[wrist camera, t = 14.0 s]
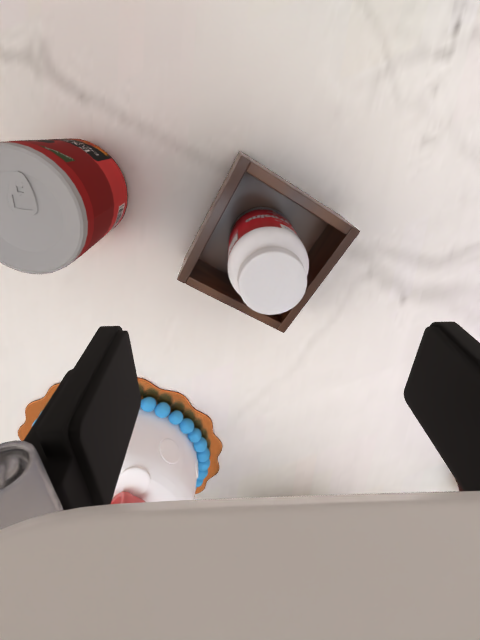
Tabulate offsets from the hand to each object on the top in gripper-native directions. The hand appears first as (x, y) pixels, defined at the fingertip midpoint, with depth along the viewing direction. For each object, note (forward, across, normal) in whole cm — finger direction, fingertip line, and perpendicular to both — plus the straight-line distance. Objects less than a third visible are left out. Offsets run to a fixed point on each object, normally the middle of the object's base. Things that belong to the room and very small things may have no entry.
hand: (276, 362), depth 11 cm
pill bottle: (+23, -2, +3) cm, 23 cm away
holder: (+24, -2, +3) cm, 24 cm away
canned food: (+24, +14, -2) cm, 28 cm away
